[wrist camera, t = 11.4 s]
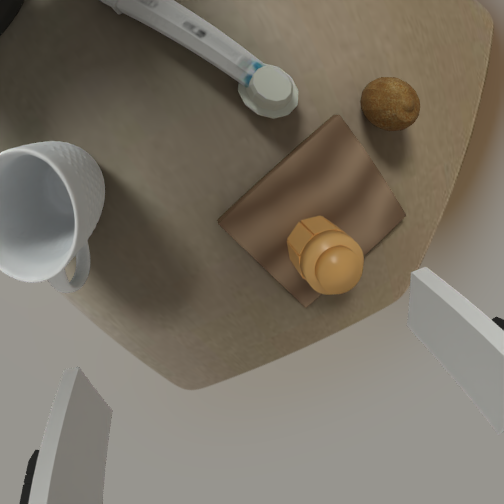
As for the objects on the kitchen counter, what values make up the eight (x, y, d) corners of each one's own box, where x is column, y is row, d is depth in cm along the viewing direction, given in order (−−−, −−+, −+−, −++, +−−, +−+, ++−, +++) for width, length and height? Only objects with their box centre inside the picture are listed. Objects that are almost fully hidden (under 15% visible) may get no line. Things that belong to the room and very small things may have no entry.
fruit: (370, 139, 35) (409, 146, 27) (339, 99, 32) (374, 96, 25) (400, 109, 34) (441, 111, 26) (372, 70, 31) (411, 62, 24)
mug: (136, 251, 35) (113, 314, 23) (58, 268, 34) (14, 328, 22) (108, 124, 29) (60, 126, 17) (25, 152, 28) (-42, 172, 16)
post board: (217, 219, 36) (221, 236, 31) (333, 114, 33) (356, 114, 28) (302, 302, 42) (315, 325, 37) (400, 212, 39) (424, 225, 34)
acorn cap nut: (292, 273, 38) (314, 309, 31) (283, 224, 35) (306, 252, 28) (340, 259, 39) (371, 291, 31) (335, 211, 36) (369, 234, 29)
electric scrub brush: (119, -40, 19) (319, 83, 25) (135, -14, 25) (303, 95, 31) (84, -4, 20) (283, 125, 26) (105, 17, 26) (273, 130, 32)
